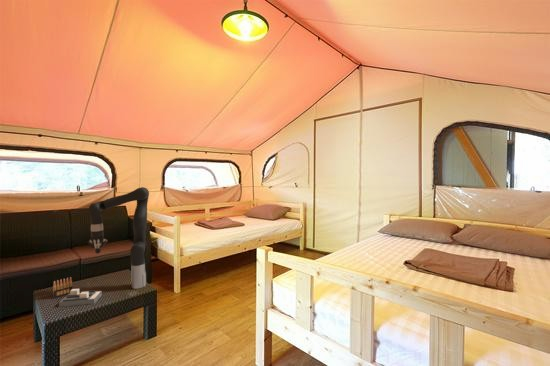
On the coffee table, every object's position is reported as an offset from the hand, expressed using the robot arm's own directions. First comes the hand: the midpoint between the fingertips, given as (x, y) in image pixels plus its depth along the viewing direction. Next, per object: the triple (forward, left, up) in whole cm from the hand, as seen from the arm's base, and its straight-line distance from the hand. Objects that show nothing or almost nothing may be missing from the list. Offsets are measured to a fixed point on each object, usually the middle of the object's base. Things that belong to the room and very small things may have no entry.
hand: (98, 253), depth 189 cm
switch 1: (+9, +13, -24) cm, 29 cm away
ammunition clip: (+20, +5, -27) cm, 34 cm away
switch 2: (+1, +19, -24) cm, 31 cm away
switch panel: (+4, +16, -27) cm, 32 cm away
